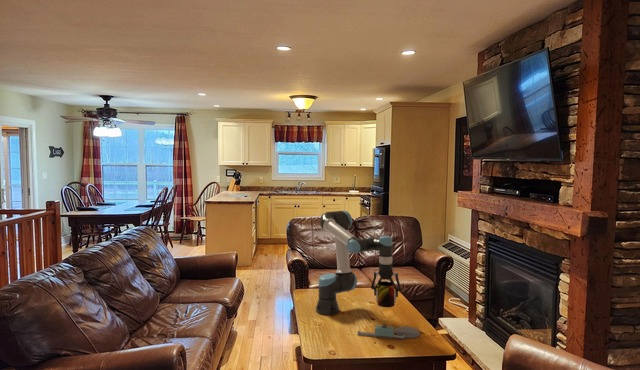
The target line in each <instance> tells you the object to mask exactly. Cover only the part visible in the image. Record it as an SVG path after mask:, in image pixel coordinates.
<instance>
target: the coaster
mask: <svg viewBox="0 0 640 370" xmlns="http://www.w3.org/2000/svg"><path fill="white" fill-rule="evenodd" d="M394 335H397V336H403V335H405V339H417V338H418V337H420V335H421V331H420V330H418V329H417V328H415V327H412V326H405V325H404V326H398V327H396V328H395V329H394Z"/></svg>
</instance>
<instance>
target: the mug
mask: <svg viewBox="0 0 640 370" xmlns="http://www.w3.org/2000/svg"><path fill="white" fill-rule="evenodd" d="M376 284H377V302H376V304H377V306H379V307H380V308H393V307H394V306H395V303H394V291H395V289H394V285H392V283H391V282H390V281H388V280H386V281H381V282H380V284H378V282H377V283H376Z"/></svg>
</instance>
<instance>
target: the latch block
mask: <svg viewBox="0 0 640 370" xmlns="http://www.w3.org/2000/svg"><path fill="white" fill-rule="evenodd" d="M394 328H395V326H390V325H389V326H388V325H387V324H382V325H377V324H375V326H374V333H375V335H377V336H387V337H393V336H394V335H395V329H394Z"/></svg>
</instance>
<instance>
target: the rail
mask: <svg viewBox="0 0 640 370" xmlns="http://www.w3.org/2000/svg"><path fill="white" fill-rule="evenodd" d="M357 336H362V337H370V338H371V337H373V338H374V337H375V338H380V339H392V340H401V341H405V340H406V338H405V335H403V336H397V335H396V334H394V336H393V337H387V336H377V335H375V332H364V331H360V330H357Z"/></svg>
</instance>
